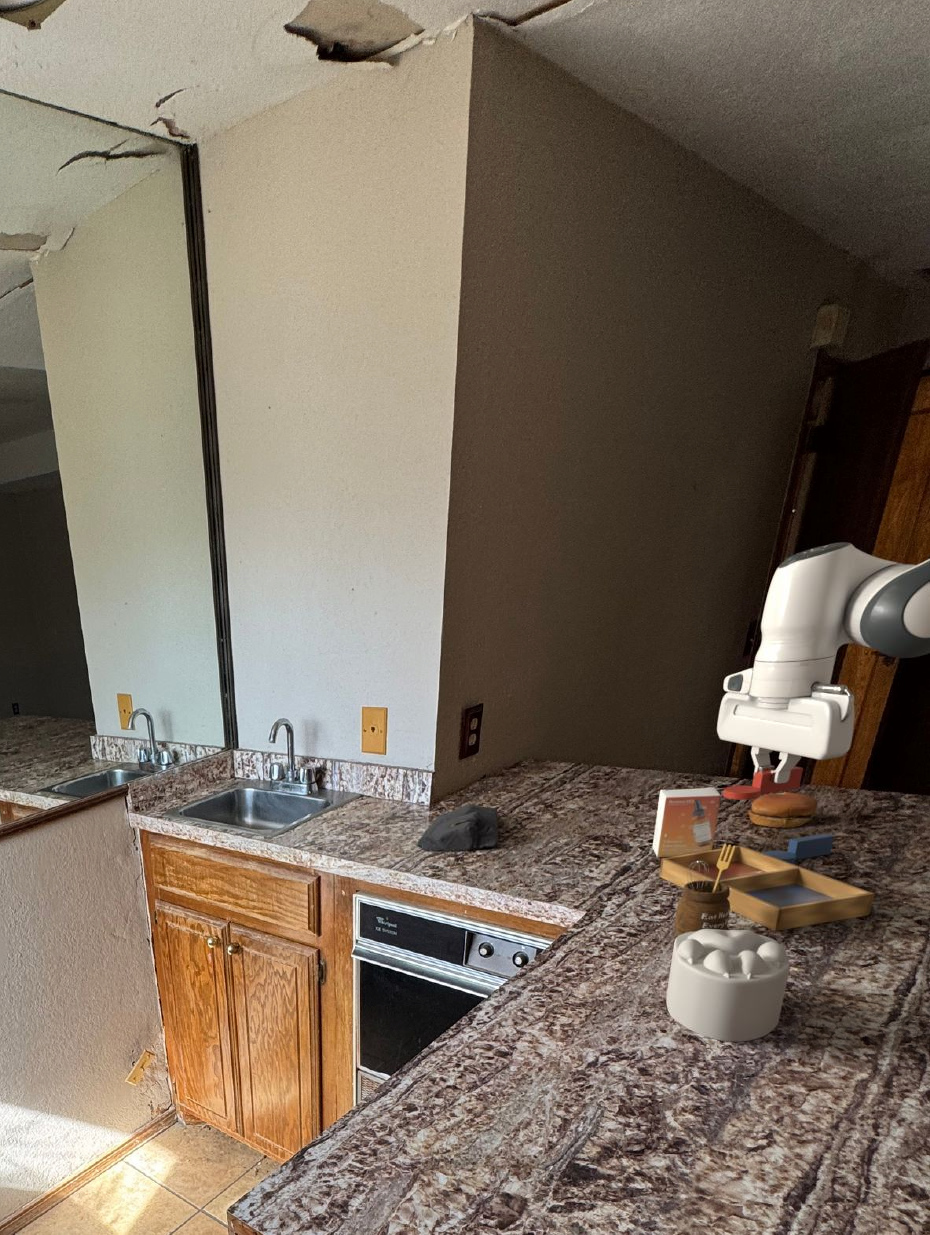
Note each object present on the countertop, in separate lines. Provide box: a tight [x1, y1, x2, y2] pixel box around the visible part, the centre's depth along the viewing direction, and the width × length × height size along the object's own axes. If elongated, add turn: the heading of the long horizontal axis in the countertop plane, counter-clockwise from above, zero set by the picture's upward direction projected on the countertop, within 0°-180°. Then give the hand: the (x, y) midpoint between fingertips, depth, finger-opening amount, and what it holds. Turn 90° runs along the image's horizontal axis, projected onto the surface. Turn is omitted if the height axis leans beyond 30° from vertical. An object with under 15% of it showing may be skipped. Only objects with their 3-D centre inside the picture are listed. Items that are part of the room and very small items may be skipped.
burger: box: [747, 791, 818, 829], centre depth 139 cm, size 10×9×5 cm
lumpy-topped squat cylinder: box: [665, 929, 791, 1043], centre depth 87 cm, size 10×13×9 cm
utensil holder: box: [674, 843, 737, 937], centre depth 103 cm, size 6×6×12 cm
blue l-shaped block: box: [762, 832, 835, 864], centre depth 124 cm, size 10×4×3 cm, turn 95°
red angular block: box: [722, 765, 804, 801], centre depth 113 cm, size 10×4×3 cm, turn 95°
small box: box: [652, 786, 722, 858], centre depth 131 cm, size 8×6×10 cm
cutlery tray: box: [658, 845, 875, 932], centre depth 114 cm, size 13×24×3 cm, turn 5°
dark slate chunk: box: [415, 804, 500, 852], centre depth 158 cm, size 15×22×5 cm
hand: (770, 780), depth 113 cm, fingers closed on red angular block
